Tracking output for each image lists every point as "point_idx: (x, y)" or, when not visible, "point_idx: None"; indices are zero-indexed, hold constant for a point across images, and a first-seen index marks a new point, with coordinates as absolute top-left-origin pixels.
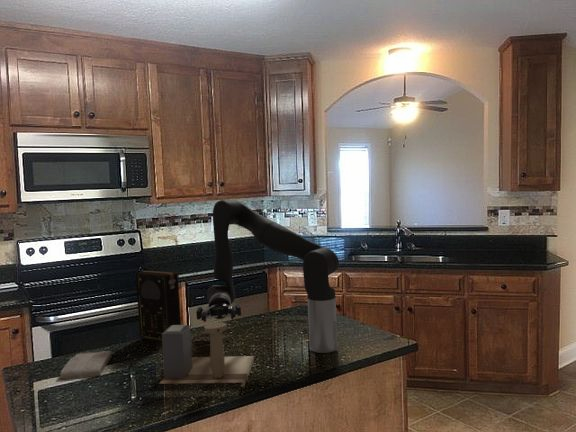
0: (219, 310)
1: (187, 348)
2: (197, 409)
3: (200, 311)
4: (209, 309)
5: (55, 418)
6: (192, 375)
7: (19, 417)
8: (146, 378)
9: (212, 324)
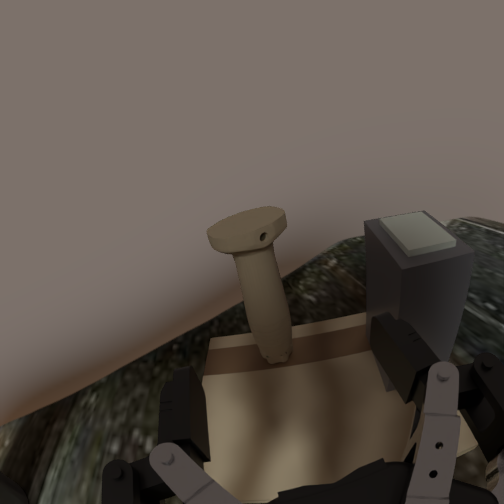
0: (327, 486)
1: (380, 305)
2: (285, 276)
3: (487, 394)
4: (421, 423)
5: (461, 228)
6: (354, 349)
7: (496, 222)
8: (470, 331)
9: (258, 222)
